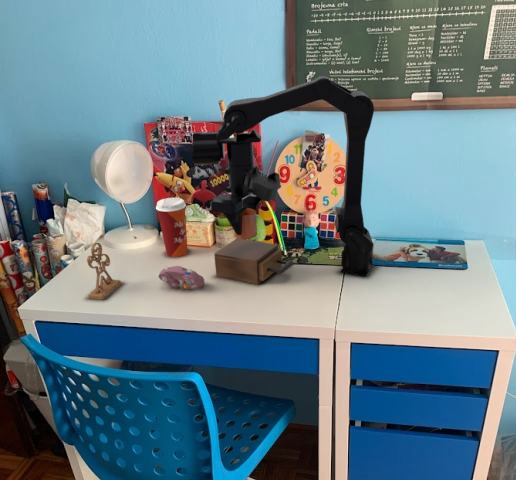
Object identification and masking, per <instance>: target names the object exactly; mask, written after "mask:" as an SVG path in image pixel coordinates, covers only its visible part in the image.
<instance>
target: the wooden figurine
mask: <svg viewBox="0 0 516 480" xmlns="http://www.w3.org/2000/svg"><path fill="white" fill-rule="evenodd" d="M90 253H91V255H88V256H87V258H86V262H87V265H88V267H89V268H90V269H95V273H96V280H95V281H96V282H95V289H93V290H92V291H91V292H90V293H89V294H88V299H89V300H97V301H103V300H104V301H105V299H106V298H107V297H108V296H110V295H111V294H112V293H114V291H116V289H118V288H119V287H120V286H121V285H122V282H121V280H120V279H113V278H112V276H110V273H108V271H107V268H106V267H109V266H111V259H110V256H109V255H108V254H106V253H103V247H102V244H101V243H100V242H93V244H92V245H91V249H90ZM103 256H104V257H105V259H104V260H103V258H102V257H103ZM93 262H95V263H97V265H95V266H93V265H92V264H93ZM103 273H104V274H105V276H106V278H105V276H104V275H102V274H103Z"/></svg>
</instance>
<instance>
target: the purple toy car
mask: <svg viewBox="0 0 516 480" xmlns="http://www.w3.org/2000/svg"><path fill="white" fill-rule="evenodd" d="M158 279H159V280H160V281H162V282H163V283H166V284H168V285H169V286H170V287H171V288H174V289H176V288H179V286H180V285H181V287H182V288H183V289H185V290H190V289H191V288H192V286H194V287H199V288H200V287H203V286H204V285H205V278H204V276H202V275H200V274H199V273H197V271H195V270H193V269H191V268H185V267H183V266H182V265H181V266H180V265H174V266H170V267H169V266H167V265H165V266H164V268H162V270H161V271H160V272H159V274H158Z"/></svg>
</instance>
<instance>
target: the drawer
mask: <svg viewBox="0 0 516 480" xmlns="http://www.w3.org/2000/svg"><path fill="white" fill-rule="evenodd" d="M294 263H295V262H294V261H293V260H292V259H289V260H288V261H287V260H283V255H282V249H280V248H278V249H277V250H275V251H274V252H273V253H270V254H269V255H268V256H266V257H265V258H264V259H262V260H261V261H260V262H258V268H259V280H260V281H262V282H264V281H265V280H266V279H268V278H269V277H270V276H272V275H273V274H274V273H276V274H277V275H279V276H283V274H284V273H286V272H287V271H288V270H289V269H290V268H292V267H293V266H294Z"/></svg>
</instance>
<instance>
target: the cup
mask: <svg viewBox="0 0 516 480" xmlns="http://www.w3.org/2000/svg"><path fill="white" fill-rule="evenodd" d="M257 221H258V220H257V214H256V211H255V210H254V209H250V208H247V209H246V210H245V211H244V212H243V214H242V233H241V235H237V234H236V233H235V231H234V229H233V228H232V232H233V237H234V238H235V239H237V238H239V239H245V240H250V239H253V238H255V237H257V235H258V222H257Z"/></svg>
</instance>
